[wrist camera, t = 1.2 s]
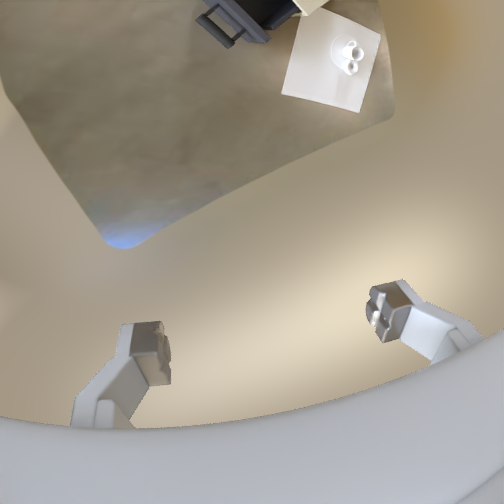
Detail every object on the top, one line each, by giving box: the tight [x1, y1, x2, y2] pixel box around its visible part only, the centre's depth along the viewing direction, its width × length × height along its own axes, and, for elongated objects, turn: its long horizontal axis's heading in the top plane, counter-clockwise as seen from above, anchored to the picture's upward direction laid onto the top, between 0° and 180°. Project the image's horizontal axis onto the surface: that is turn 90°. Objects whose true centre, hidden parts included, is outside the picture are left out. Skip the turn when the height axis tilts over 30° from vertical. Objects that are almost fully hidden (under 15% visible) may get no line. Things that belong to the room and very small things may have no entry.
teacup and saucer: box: [330, 33, 365, 76], centre depth 47 cm, size 9×8×4 cm
